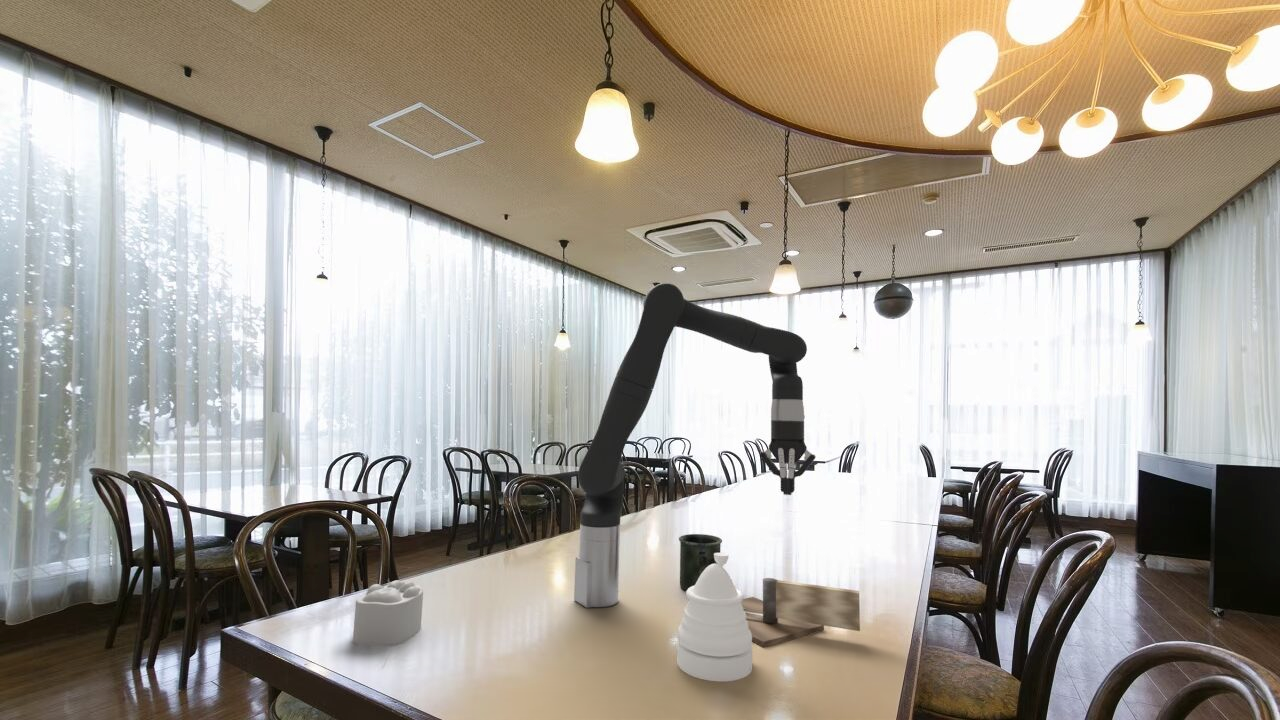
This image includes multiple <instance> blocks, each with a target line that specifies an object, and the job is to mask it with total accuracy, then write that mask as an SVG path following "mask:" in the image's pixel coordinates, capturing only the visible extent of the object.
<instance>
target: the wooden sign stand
mask: <svg viewBox="0 0 1280 720" xmlns="http://www.w3.org/2000/svg"><path fill="white" fill-rule="evenodd" d="M741 604H742V607H743V611H745V612H752V613H758V614H763V599H760V598H757V597H755V596H751V597H746V598H745V597H744V598H743V600H742V602H741ZM746 620H747V622H748V625H749V626H748V628H749V630H750V632H751V634H752V643H754V644H756V645H758V646H761V647H762V648H767V647H770V646H775V645H777V644H780V643H784V642H788V641H791V640H795V639H798V638H802V637H804V636H809V635H811V634H815V633H819V632H822V630H823V631H825V626H824V625H817V624H811V623H805V622H799V621H792V620H786V619H780V618H778V622H777V623H766V622H764V621H763V618H757V617H750V616H746Z"/></svg>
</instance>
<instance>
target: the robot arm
mask: <svg viewBox="0 0 1280 720" xmlns="http://www.w3.org/2000/svg"><path fill="white" fill-rule="evenodd" d="M642 305H643V306H642V307H643V310H642V313H641V318H640V321H639V324H638V327H637V331H636V334H635V336H634V338H633V341H632V342H631V344H630V346H629V348H628V350H627V352H626V354H625V355H624V357H623V359H622V361H621V363H620V366H619V368H618V370H617V373H616V374H615V378H614V380H613V382H612V386H611V388H610V391H609V394H608V397H607V400H606V401H605V402H606V403H605V406H604V408H603V411H602V414H601V418H600V421H599V424H598V428H597V430H596V433H595V434H594V437H593V439H592V441H591V442H590V445H589V447H588V448H587V451H586V454H585V455H584V457H583V459H582V462H581V463H580V466H579V469H578V473H577V474H578V475H577V476H578V483H579V486H580V487H581V489H582V490H583V492H585V499H584V503H583V507H582V508H581V511H580V516H579V517H580V521H579V525H580V526H579V545H578V546H579V549H578V551H579V552H578V556H576V557H575V561H574V562H575V565H574V566H575V567H574V595H573V601H575V602H577V603H578V604H580V605H581V606H583V607H585V608H604V607H606V608H607V607H610V606H614V605H616V604H617V603H618V601H619V581H620V580H619V578H620V571H619V570H620V543H621V542H620V541H621V537H620V536H621V515H622V513H623V505H624V489H625V488H624V487H625V470H624V466H623V463H622V462H621V459H622V456H623V452H624V450H625V449H624V448H625V446H626V444H627V442H628V440H629V438H630V436H631V434H632V432H634V430H635V428H636V426H637V425H638V423H639V421H640V419H642V416H643V414H644V412H645V411H646V409H647V406H648V404H649V402H650V399H651V396H652V394H653V392H654V391H653V390H654V388H655V385H656V381H657V378H658V376H659V371H660V369H661V365H662V361H663V357H664V353H665V350H666V347H667V344H668V341H669V339H670V337H671V335H672V334H673V330H674V328H675V327H676V328H681V329H683V330H684V329H685V330H688V331H691V332H692V331H693V332H695V333H699V334H701V335H705V336H706V337H710V338H712V339H714V340H717V341H720V342H722V343H725V344H728V345H729V346H733V347H735V348H737V349H741V350H744V351H746V352H749V353H752V354H753V353H754V354H759V353H760V354H764V355H767V356H768V365H769V370H770V371H769V372H770V375H771V381H772V383H771V384H772V386H771V387H772V388H771V397H772V398H771V399H772V400H771V407H770V443H769V445H768V448H767V449H766V450H765V451H762V452H760V454H759V457H760V458H761V459H762V460H763V462H764V464H765V465H766V466H767V468H768V469H769V471H770V472H771V473H772V474H773V475H774V476H778V477H779V479H780V492H781V493H783V495H784V496H785V495H786V496H787V495H788V496H791V495H792V494H793V493H794V492H795V488H796V487H795V479H796V478H797V477H801V476H802V475H804V473H805V472H806V470H808V468H809V467H810V465H811V464H812V463H813V462H814V461H815V459H816V455H815V454H813V453H811V451H809V450H808V449H807V445H806V443H805V408H804V407H805V406H804V398H803V397H804V395H803V394H804V386H803V385H804V384H803V379H802V377H801V376H799V374H798V368H797V367H798V366H797V363H799V362H801V361H802V360H803V359H804V358H805V356H806V354H807V351H808V348H807V344H806V341H805V340H804V339H803V337H801V336H800V335H798V334H797V333H794V332H792V331H789V330H784V329H781V328H780V329H779V328H776V327H770V326H765V325H762V324H760V323H758V322H755V321H754V320H753V321H752V320H750V319H747V318H745V317H742V316H738V315H734V314H731V313H728V312H727V313H726V312H721V311H718V310H715V309H710V308H708V307H707V308H706V307H703V306H700V305H698V304H696V303H694V302H691V301H689V300H687V299H685V298H684V295H683V292H682V291H681V289H680V288H678V286H676V285H675V284H673V283H669V282H662V283H658V284H656V285H654V286H653V287H651V288H650V289H649V290H648V292H647V293H646V295H645V297H644V300H643V304H642ZM772 455H773V456H774V458H775V460H776V461H777V462H778V463H779V464H778V467H779V468H778V467H777V465H776V464H775V463H774V461H773V460H772ZM803 456H804V457H803ZM802 457H803V459H804V463H803V464H802V465H801V466H800V467H799V469H798V470H796V469H797V468H796V467H797V463H798V462H799V461H800V460H801V459H802ZM787 463H788V464H787ZM787 465H788V467H787ZM787 470H788V471H787ZM787 476H788V477H787Z"/></svg>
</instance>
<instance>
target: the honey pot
mask: <svg viewBox="0 0 1280 720" xmlns="http://www.w3.org/2000/svg"><path fill="white" fill-rule="evenodd" d="M714 558H715V561H716V563H717V564H711V565H709V566H708V567H706V569H705V570H704V571H703V572H702V574H701V575H700V577H699V578H698V580H697V582H696V584H695V585H694V586H692V587H690V588H688V590H687V591H685V592H686V597H687V598H688V602H687V605H686V606H685V608H684V610H683V616H682V618H681V622H680V625H679V626H678V628H677V645H676V646H677V650H676V654H677V655H676V657H677V658H676V660H677V661H676V662H677V667H678V668H679V669H680V670H681V671H683V672H684V673H685V674H687V675H689V676H691V677H694V678H697V679H701V680H703V681H710V682H732V681H737V680H742V679H743V678H745V677H748V676H749V674H751V672H752V670H753V642H752V634H751V632H750V630H749V628H748V626H749V625H748V622H747V620H746V614H745V612H744V611H743V607H742V604H741V602H742V600H743V599H745V597H744V594H743V592H742V591H741V590H740V589H738V588H736V586H735V584H734V582H733V580H732V578H731V576H730V575H729V572H727V570H726V568H724V567H723V566H725V565H726V564H727V563H728V560H729V554H728V553H726V552H720V553H714Z"/></svg>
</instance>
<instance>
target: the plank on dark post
mask: <svg viewBox="0 0 1280 720" xmlns="http://www.w3.org/2000/svg"><path fill="white" fill-rule="evenodd" d="M762 601H763V614H758V613H752V612H745V611H744V612H745V614H746V616H750V617H757V618H763V621H764V622H766V623H777V622H778V618H780V619H786V620H792V621H799V622H805V623H811V624H817V625H824V627H831V628H837V629H843V630H850V631H855V632H860V630H861V616H860V615H861V613H860V611H861V610H860V591H859V590H855V589H849V588H848V589H846V588H841V587H833V586H824V585H817V584H812V583H811V584H810V583H802V582H796V581H789V580H788V581H787V580H780V579H776V578H772V577H764V578H762Z"/></svg>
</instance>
